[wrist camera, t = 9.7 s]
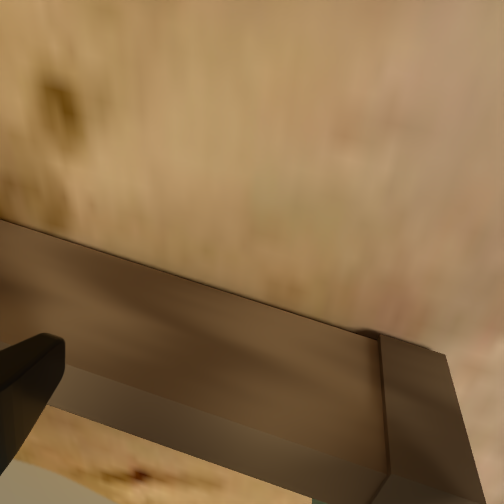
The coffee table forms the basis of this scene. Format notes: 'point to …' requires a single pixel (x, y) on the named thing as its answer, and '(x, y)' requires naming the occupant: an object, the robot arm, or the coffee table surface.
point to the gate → (239, 378)
